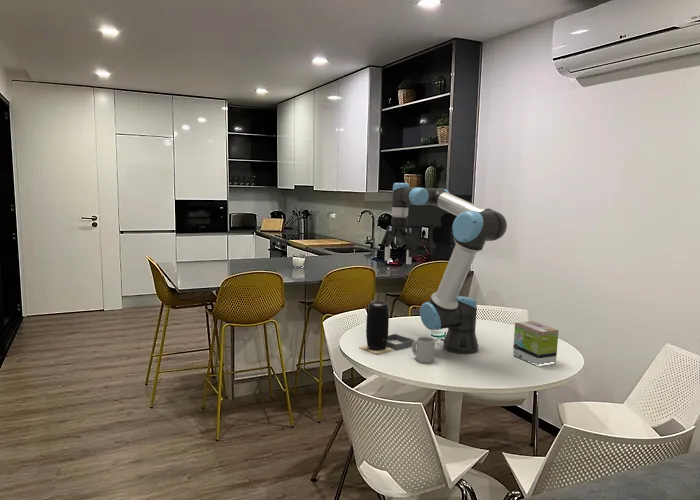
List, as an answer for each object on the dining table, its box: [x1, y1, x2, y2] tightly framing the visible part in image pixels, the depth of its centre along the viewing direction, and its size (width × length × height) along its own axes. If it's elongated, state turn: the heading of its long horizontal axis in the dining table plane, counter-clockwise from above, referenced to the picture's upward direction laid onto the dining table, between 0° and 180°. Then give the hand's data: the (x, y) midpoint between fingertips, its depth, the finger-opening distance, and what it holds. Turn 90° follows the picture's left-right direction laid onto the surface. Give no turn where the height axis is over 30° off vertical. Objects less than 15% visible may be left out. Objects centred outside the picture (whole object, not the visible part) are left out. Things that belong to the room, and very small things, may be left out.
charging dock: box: [386, 333, 415, 351], centre depth 228 cm, size 12×12×3 cm
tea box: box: [512, 320, 559, 365], centre depth 212 cm, size 15×10×15 cm
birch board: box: [358, 344, 395, 356], centre depth 220 cm, size 11×10×1 cm
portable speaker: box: [365, 301, 390, 351], centre depth 219 cm, size 9×9×20 cm
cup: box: [411, 336, 436, 365], centre depth 208 cm, size 7×10×9 cm
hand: (397, 262), depth 240 cm, fingers open, 13 cm apart
